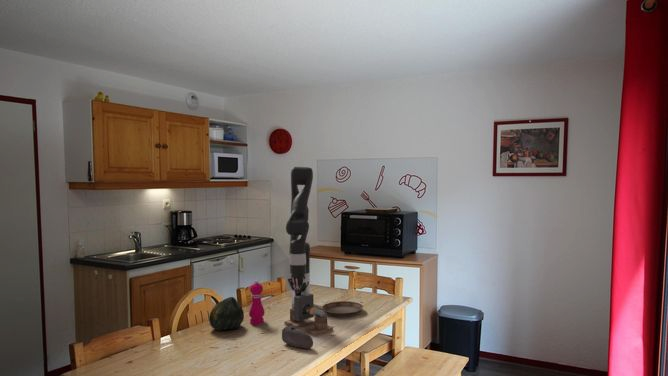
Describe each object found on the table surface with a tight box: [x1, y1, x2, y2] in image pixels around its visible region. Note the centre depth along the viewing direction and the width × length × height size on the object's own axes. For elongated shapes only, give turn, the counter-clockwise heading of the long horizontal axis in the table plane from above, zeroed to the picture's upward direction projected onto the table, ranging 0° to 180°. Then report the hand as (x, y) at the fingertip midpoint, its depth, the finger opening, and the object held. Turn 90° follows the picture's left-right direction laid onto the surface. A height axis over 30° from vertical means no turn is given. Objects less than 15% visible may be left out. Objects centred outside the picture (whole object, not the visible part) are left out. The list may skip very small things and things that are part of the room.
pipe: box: [291, 303, 327, 318], centre depth 199 cm, size 20×3×3 cm, turn 44°
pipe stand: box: [283, 307, 334, 337], centre depth 199 cm, size 22×10×7 cm, turn 44°
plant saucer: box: [321, 300, 364, 319], centre depth 221 cm, size 21×21×3 cm
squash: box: [208, 296, 245, 331], centre depth 199 cm, size 14×15×15 cm
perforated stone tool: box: [281, 325, 314, 350], centre depth 176 cm, size 15×5×7 cm, turn 52°
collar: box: [294, 292, 315, 321], centre depth 201 cm, size 3×9×10 cm, turn 134°
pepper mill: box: [248, 279, 265, 325], centre depth 207 cm, size 7×7×20 cm
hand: (298, 300), depth 203 cm, fingers closed
